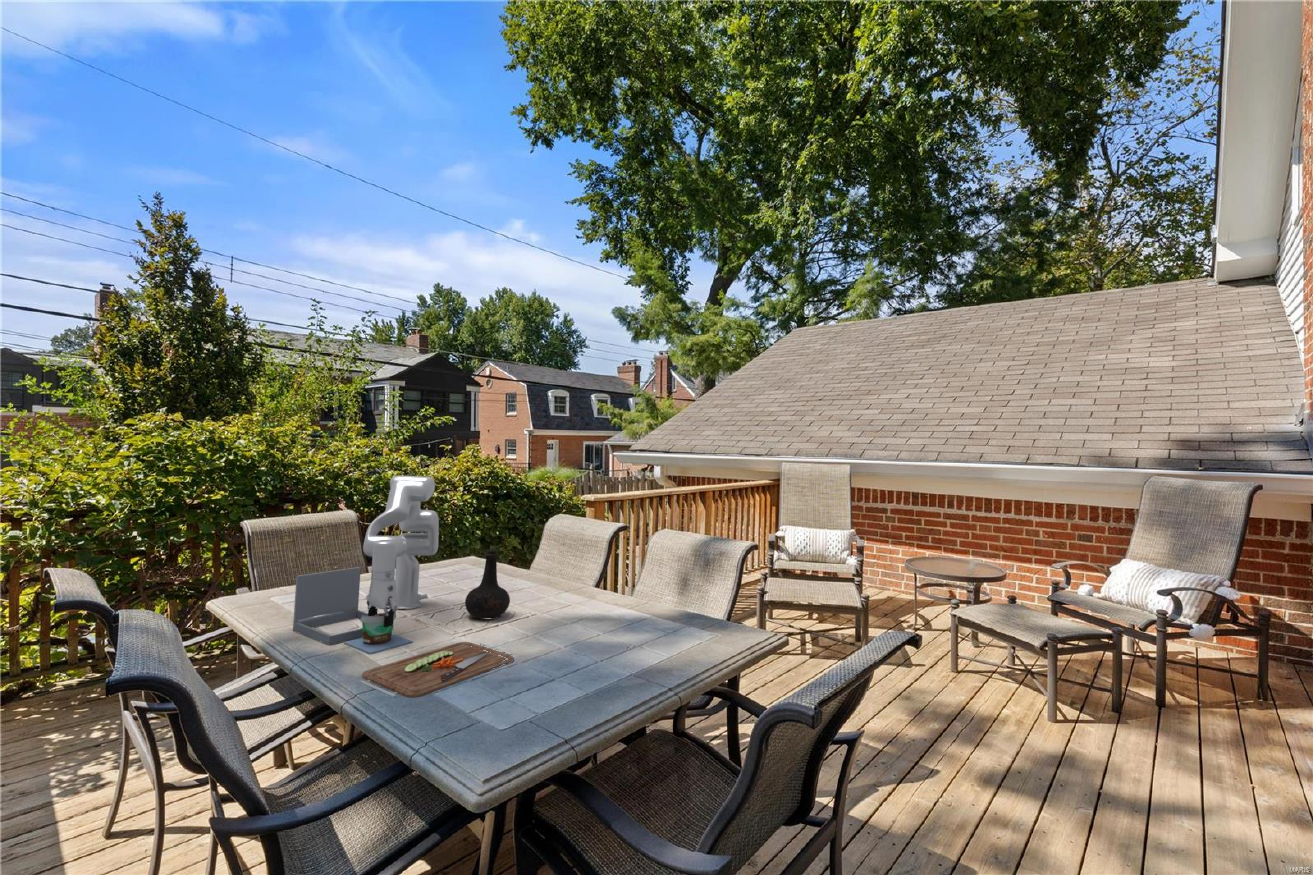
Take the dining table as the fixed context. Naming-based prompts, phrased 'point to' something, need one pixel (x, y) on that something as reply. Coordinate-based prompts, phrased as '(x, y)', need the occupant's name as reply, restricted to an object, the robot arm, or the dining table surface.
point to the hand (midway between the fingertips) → (380, 623)
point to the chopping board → (435, 669)
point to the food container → (376, 629)
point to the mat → (371, 649)
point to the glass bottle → (488, 592)
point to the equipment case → (327, 603)
